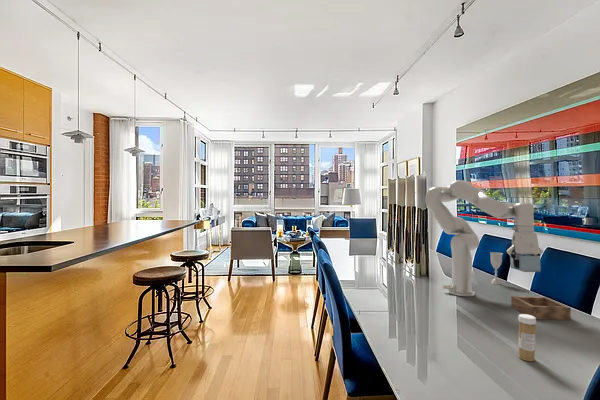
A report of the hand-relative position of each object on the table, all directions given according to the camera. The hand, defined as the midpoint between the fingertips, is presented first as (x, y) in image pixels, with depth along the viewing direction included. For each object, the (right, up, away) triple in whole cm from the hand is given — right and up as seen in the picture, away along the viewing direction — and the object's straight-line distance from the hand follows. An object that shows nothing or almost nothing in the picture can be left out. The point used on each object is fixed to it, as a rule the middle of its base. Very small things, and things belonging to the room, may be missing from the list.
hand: (525, 267), depth 160 cm
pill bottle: (-33, -19, -52) cm, 64 cm away
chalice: (+12, -19, +46) cm, 51 cm away
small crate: (0, -1, 0) cm, 1 cm away
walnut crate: (+1, -19, -8) cm, 20 cm away
